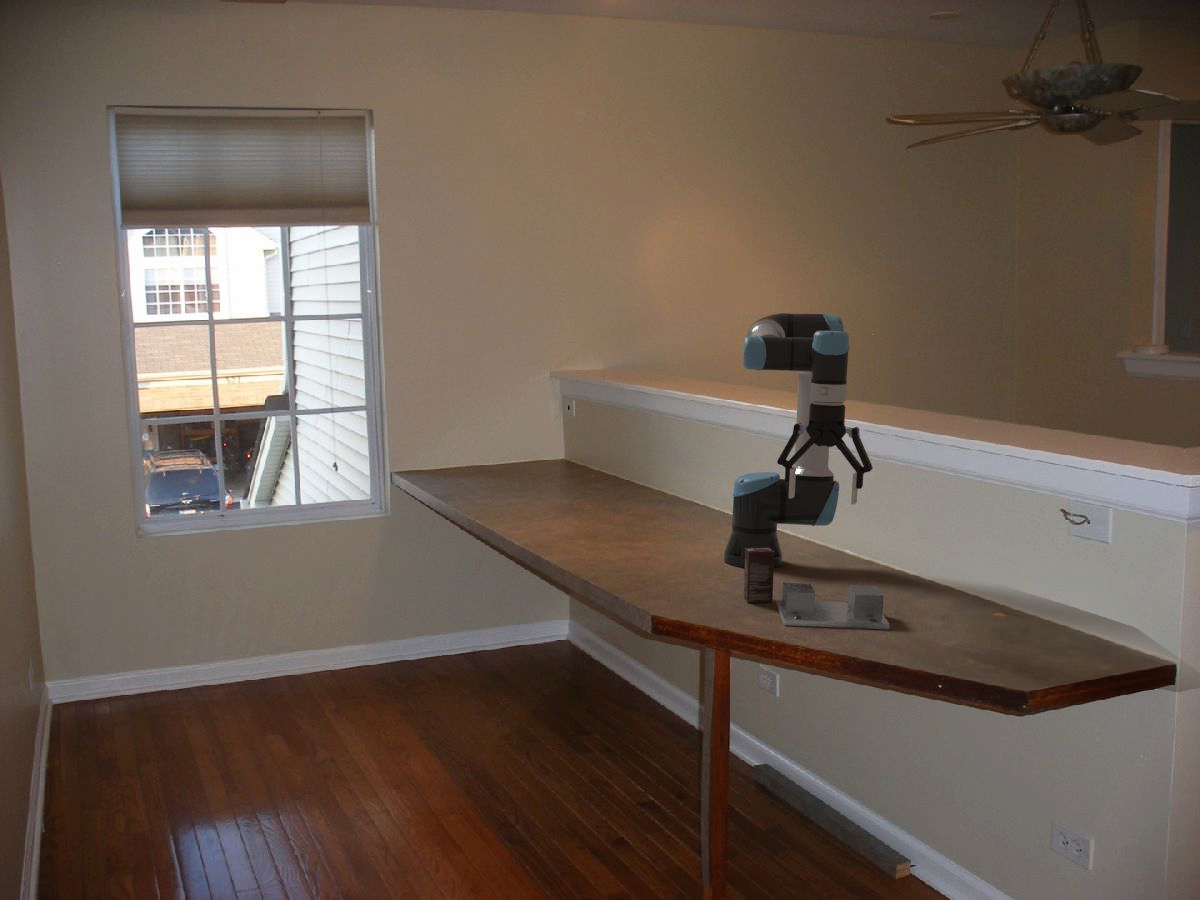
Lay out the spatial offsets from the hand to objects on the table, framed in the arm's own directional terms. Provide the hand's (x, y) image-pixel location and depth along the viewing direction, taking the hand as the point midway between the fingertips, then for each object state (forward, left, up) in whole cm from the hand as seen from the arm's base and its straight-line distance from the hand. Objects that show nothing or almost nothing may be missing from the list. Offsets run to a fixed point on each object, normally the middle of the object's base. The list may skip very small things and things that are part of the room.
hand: (822, 500), depth 250 cm
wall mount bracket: (+2, +3, -25) cm, 26 cm away
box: (-9, -12, -26) cm, 30 cm away
